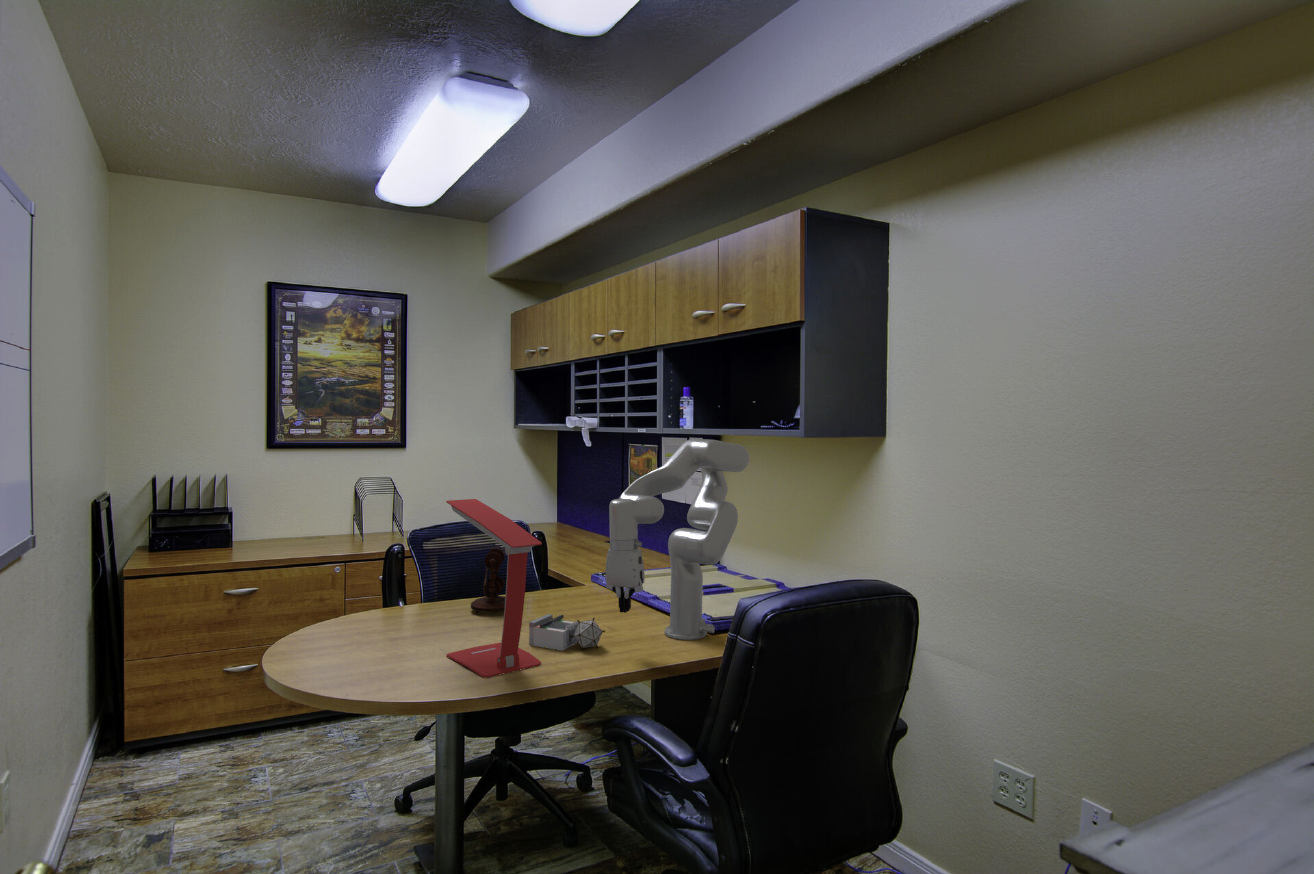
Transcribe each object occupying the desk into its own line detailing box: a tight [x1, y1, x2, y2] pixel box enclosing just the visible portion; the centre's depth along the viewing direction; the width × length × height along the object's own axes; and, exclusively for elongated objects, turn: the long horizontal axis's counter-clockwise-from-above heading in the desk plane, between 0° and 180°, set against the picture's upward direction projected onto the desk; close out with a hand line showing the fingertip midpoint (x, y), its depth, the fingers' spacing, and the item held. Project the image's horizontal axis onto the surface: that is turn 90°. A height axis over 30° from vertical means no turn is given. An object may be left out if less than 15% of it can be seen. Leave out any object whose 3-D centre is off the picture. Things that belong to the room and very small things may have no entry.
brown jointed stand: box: [470, 547, 506, 615], centre depth 233 cm, size 15×15×20 cm
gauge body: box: [528, 613, 578, 651], centre depth 200 cm, size 11×10×6 cm
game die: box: [571, 617, 606, 652], centre depth 197 cm, size 9×8×10 cm
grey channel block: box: [540, 614, 579, 645], centre depth 200 cm, size 8×12×5 cm
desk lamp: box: [445, 498, 543, 678], centre depth 187 cm, size 18×38×40 cm, turn 40°
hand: (624, 611), depth 193 cm, fingers closed
